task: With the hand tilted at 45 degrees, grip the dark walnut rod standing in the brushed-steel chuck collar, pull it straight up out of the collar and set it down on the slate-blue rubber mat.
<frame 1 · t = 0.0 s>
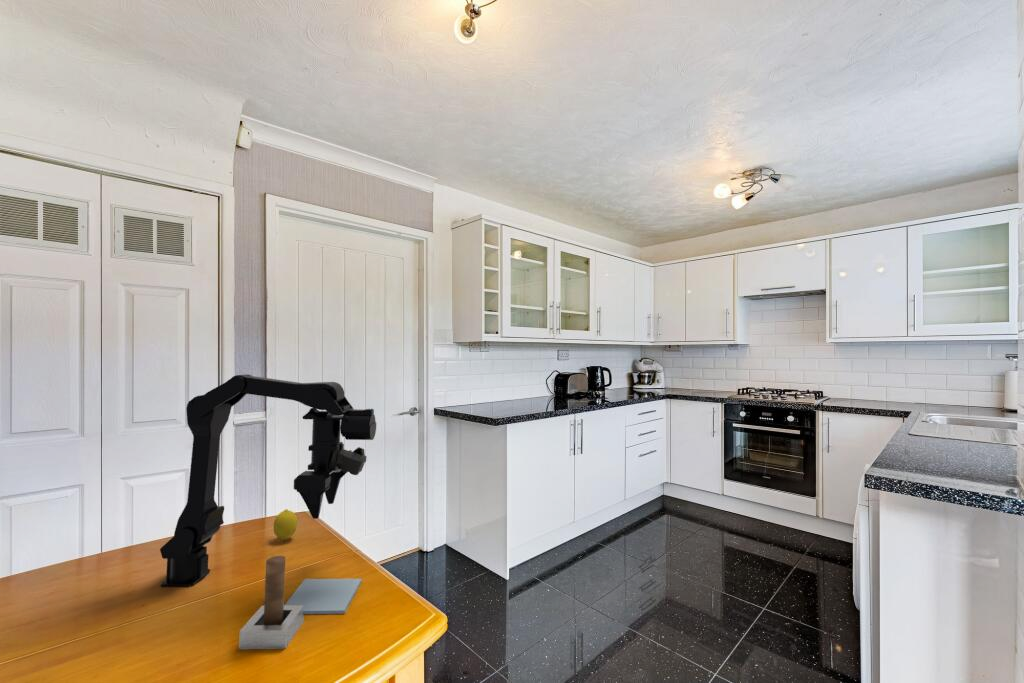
hand: (323, 510, 98), 15 cm above the table, tool pointing down, fingers open, 9 cm apart
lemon: (284, 541, 117), on the table
walnut rod: (274, 597, 78), in the chuck collar
chuck collar: (272, 634, 78), on the table
rubber mat: (323, 596, 90), on the table
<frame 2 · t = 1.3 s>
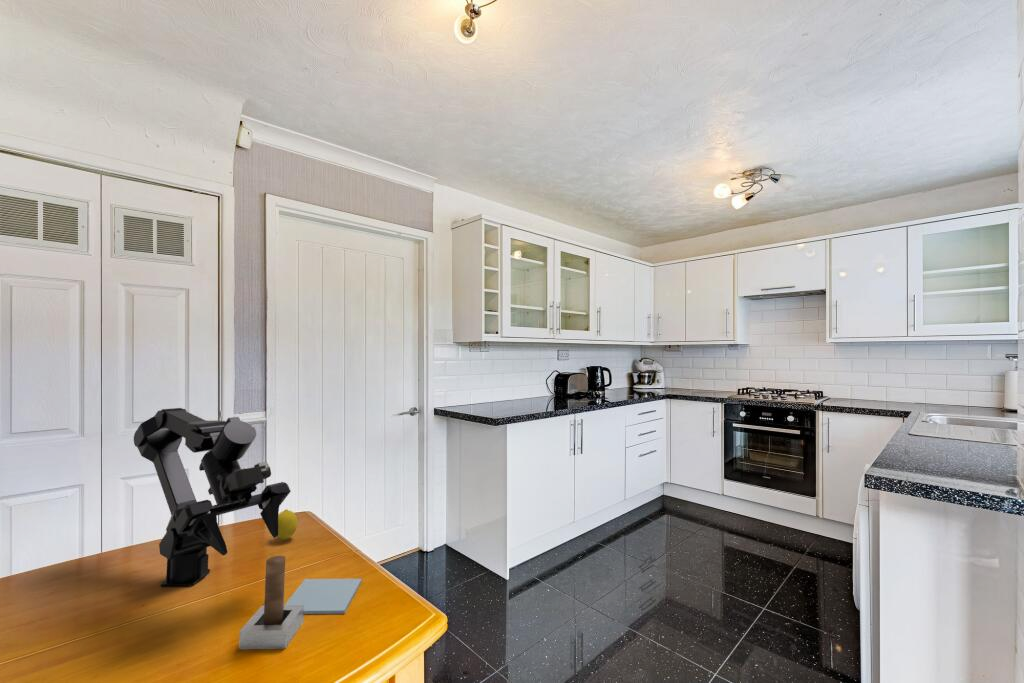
hand: (252, 545, 83), 13 cm above the table, tool tilted 45°, fingers open, 9 cm apart
nothing on the table moved.
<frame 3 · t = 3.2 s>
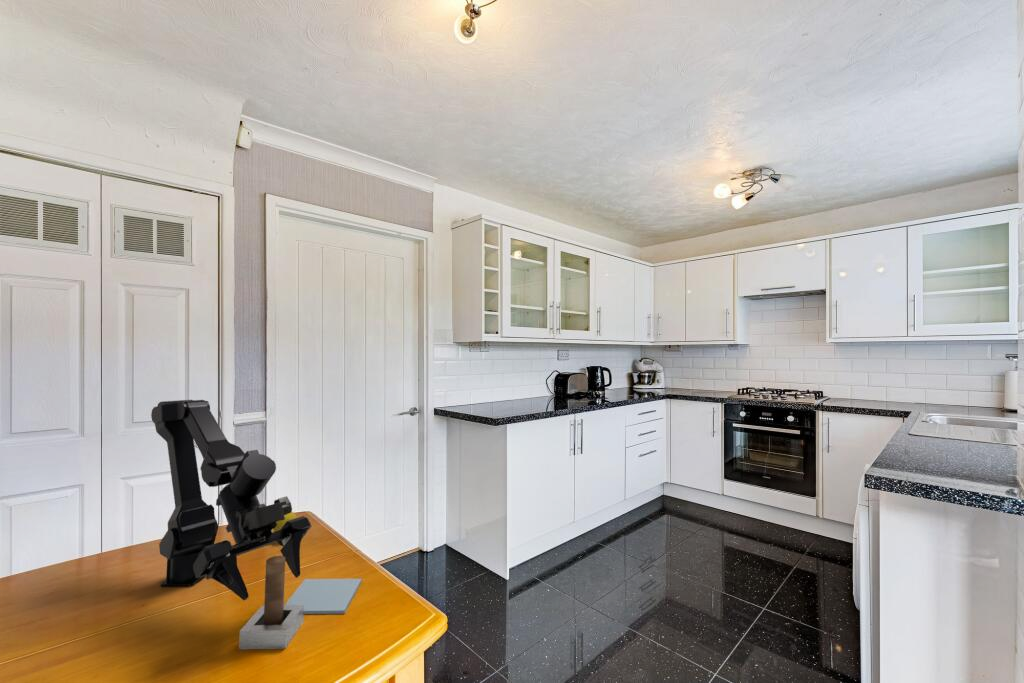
hand: (273, 587, 78), 8 cm above the table, tool tilted 45°, fingers open, 9 cm apart
nothing on the table moved.
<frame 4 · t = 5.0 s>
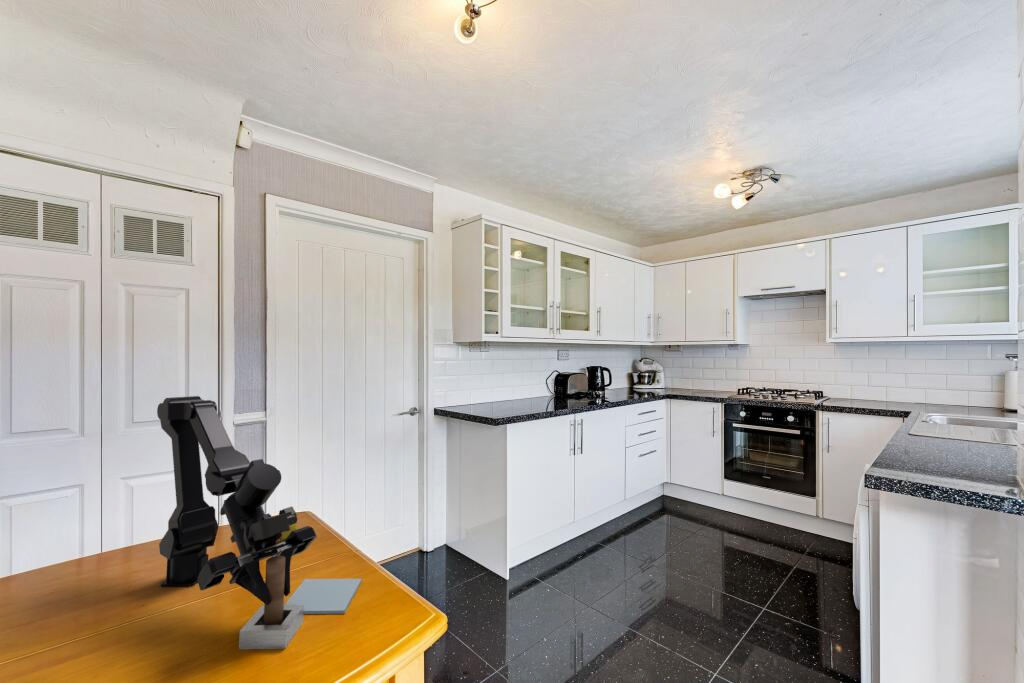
hand: (278, 599, 77), 7 cm above the table, tool tilted 45°, fingers closed on walnut rod, 3 cm apart
walnut rod: (274, 597, 78), in the chuck collar, touching gripper
everything else where it was.
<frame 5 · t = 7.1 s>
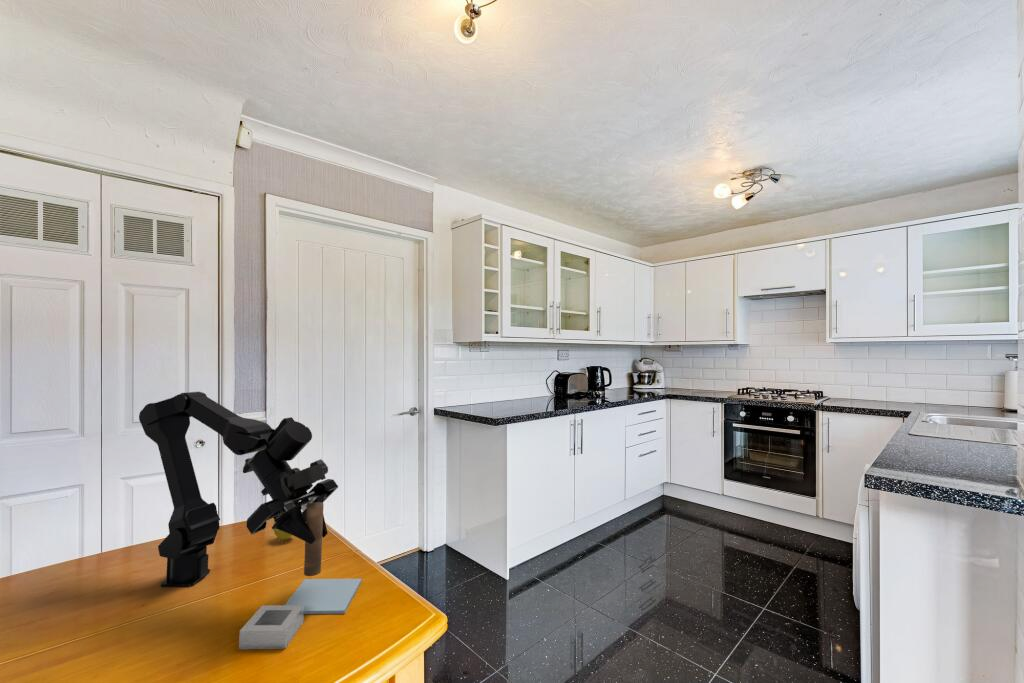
hand: (319, 538, 86), 13 cm above the table, tool tilted 45°, fingers closed on walnut rod, 3 cm apart
walnut rod: (313, 538, 87), point 13 cm above the table, touching gripper
everything else where it was.
when the fingers open (9 cm above the table, at t = 9.2 s): walnut rod drops 1 cm, resting on rubber mat.
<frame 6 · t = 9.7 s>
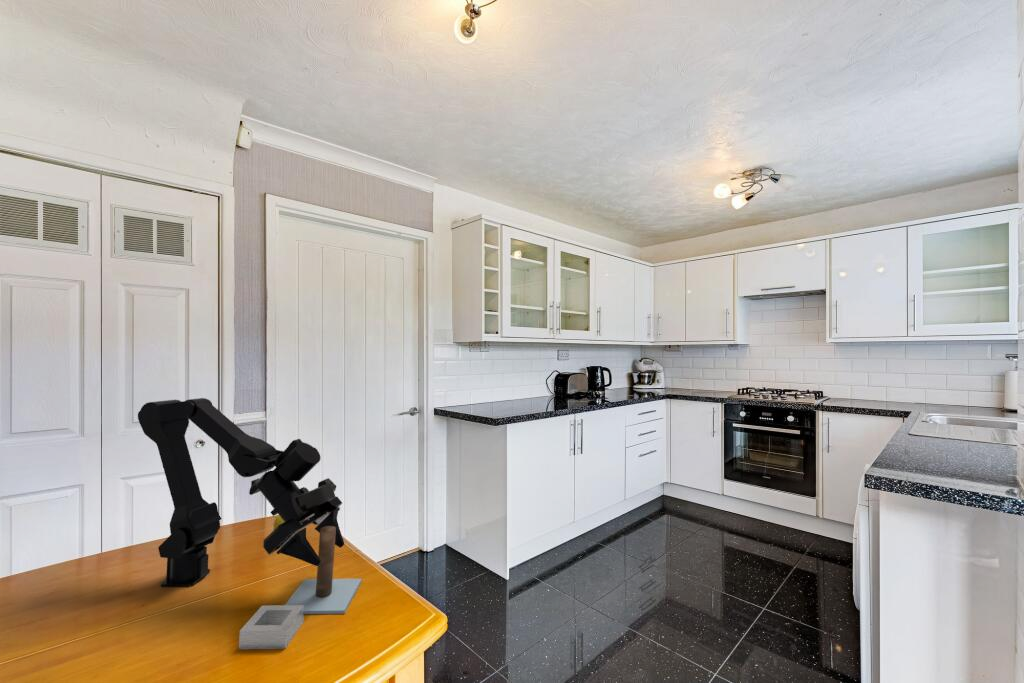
hand: (331, 554, 90), 9 cm above the table, tool tilted 45°, fingers open, 8 cm apart
walnut rod: (325, 561, 91), on the rubber mat, point 7 cm above the table
everything else where it was.
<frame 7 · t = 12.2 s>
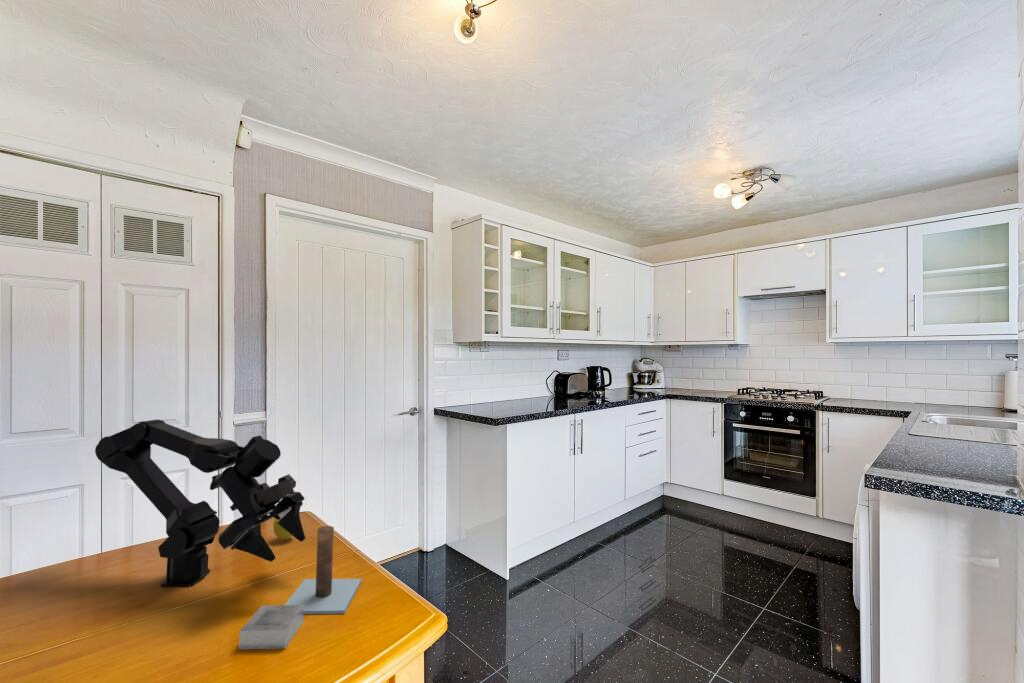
hand: (289, 549, 92), 9 cm above the table, tool tilted 45°, fingers open, 9 cm apart
nothing on the table moved.
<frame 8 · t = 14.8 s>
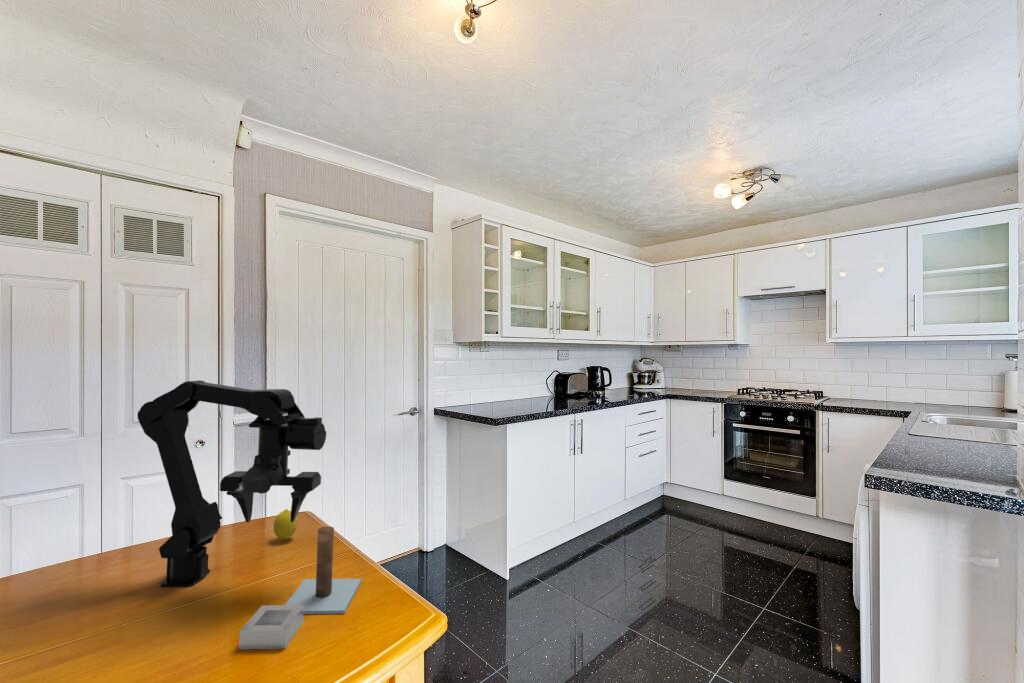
hand: (270, 521, 95), 13 cm above the table, tool pointing down, fingers open, 9 cm apart
nothing on the table moved.
at the end: walnut rod inside the target area on the rubber mat (0.0 cm from its centre), point 7.1 cm above the rubber mat's base; walnut rod moved 13.0 cm from its start; the gripper is holding nothing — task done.
